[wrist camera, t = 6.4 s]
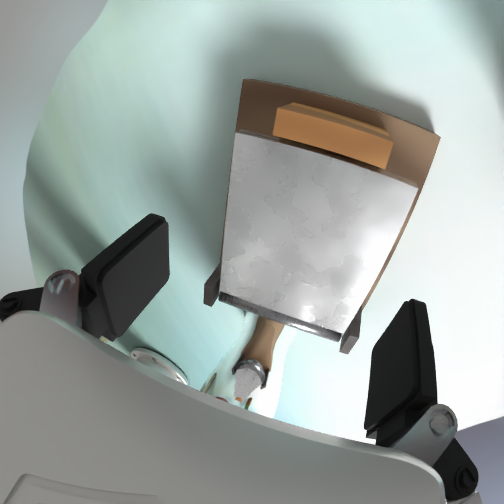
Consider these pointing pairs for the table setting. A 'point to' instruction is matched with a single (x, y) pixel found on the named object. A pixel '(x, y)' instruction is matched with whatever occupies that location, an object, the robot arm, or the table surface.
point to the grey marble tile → (306, 232)
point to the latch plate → (399, 131)
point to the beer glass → (253, 366)
